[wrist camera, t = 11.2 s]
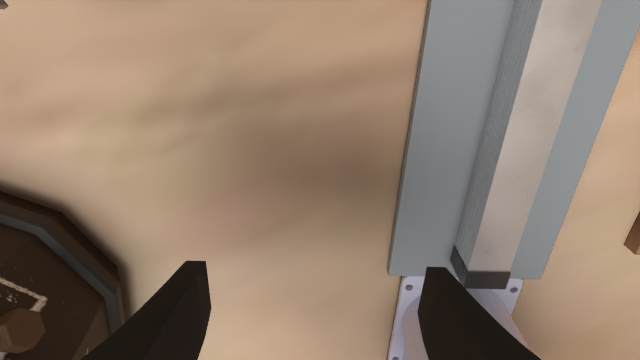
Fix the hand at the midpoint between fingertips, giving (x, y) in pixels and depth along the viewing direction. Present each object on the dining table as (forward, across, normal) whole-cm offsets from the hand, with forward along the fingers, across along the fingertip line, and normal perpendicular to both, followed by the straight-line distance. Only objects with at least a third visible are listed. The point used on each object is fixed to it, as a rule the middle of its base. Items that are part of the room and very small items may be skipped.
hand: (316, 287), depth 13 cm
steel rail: (+10, -10, -5) cm, 15 cm away
